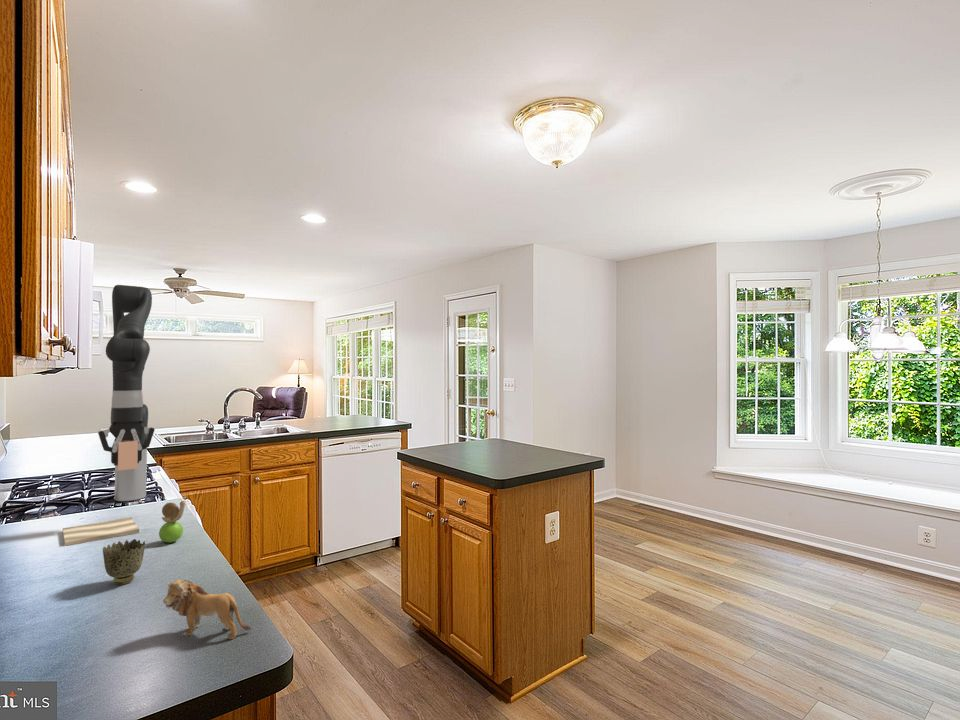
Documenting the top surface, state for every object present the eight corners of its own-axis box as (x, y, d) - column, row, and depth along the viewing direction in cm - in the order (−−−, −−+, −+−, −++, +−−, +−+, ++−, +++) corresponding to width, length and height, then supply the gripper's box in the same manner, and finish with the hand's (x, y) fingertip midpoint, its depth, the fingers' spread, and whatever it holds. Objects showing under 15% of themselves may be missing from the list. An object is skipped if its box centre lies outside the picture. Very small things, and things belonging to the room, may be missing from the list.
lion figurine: (156, 640, 84) (157, 586, 84) (175, 624, 89) (176, 574, 90) (244, 640, 84) (245, 586, 84) (258, 624, 90) (258, 573, 90)
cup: (151, 579, 108) (152, 542, 109) (112, 592, 102) (113, 553, 102) (133, 572, 112) (134, 536, 112) (95, 584, 106) (96, 546, 106)
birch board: (62, 531, 140) (62, 528, 140) (131, 520, 151) (131, 517, 151) (64, 545, 129) (64, 542, 129) (139, 532, 140) (139, 529, 140)
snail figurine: (178, 545, 129) (179, 499, 130) (154, 545, 129) (154, 499, 130) (191, 538, 135) (191, 494, 135) (167, 538, 135) (168, 493, 135)
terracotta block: (115, 468, 147) (116, 441, 147) (134, 466, 150) (135, 439, 150) (118, 470, 144) (118, 442, 144) (137, 468, 147) (137, 441, 147)
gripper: (153, 404, 155) (152, 459, 155) (95, 406, 145) (94, 465, 145) (158, 405, 150) (157, 462, 149) (98, 407, 140) (97, 468, 139)
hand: (126, 463), depth 147 cm, fingers closed on terracotta block, 4 cm apart
